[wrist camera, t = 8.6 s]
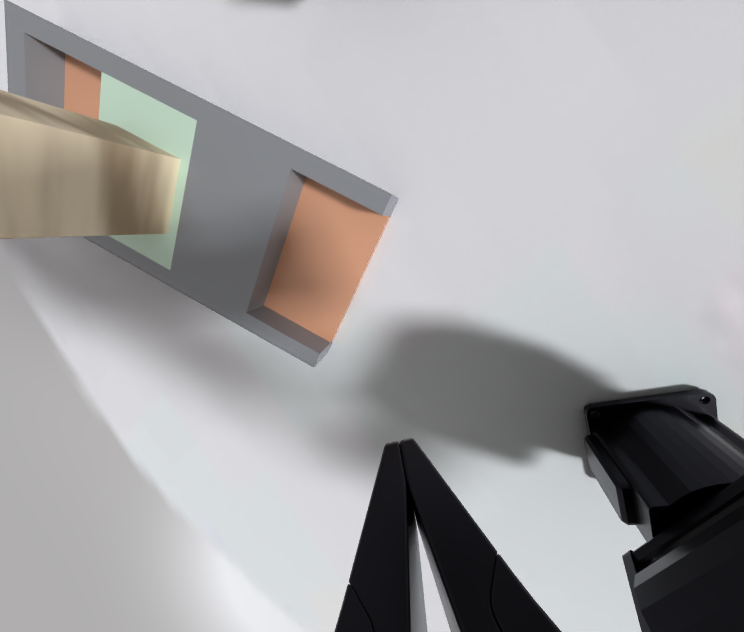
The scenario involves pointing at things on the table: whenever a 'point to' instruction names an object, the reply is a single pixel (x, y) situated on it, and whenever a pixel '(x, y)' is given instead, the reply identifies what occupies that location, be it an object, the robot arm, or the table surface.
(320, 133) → the table surface
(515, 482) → the table surface
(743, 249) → the table surface
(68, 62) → the box
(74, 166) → the block
